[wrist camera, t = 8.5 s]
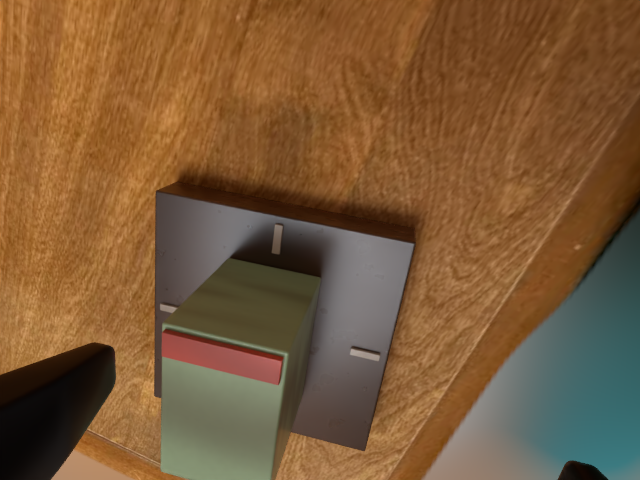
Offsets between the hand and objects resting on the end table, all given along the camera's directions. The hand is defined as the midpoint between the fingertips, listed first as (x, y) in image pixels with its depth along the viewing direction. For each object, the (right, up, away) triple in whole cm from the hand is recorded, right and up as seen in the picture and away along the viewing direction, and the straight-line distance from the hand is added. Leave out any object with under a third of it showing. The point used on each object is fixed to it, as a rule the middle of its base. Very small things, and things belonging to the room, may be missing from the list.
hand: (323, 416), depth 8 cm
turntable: (-2, 0, +15) cm, 15 cm away
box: (-3, -1, +13) cm, 13 cm away
